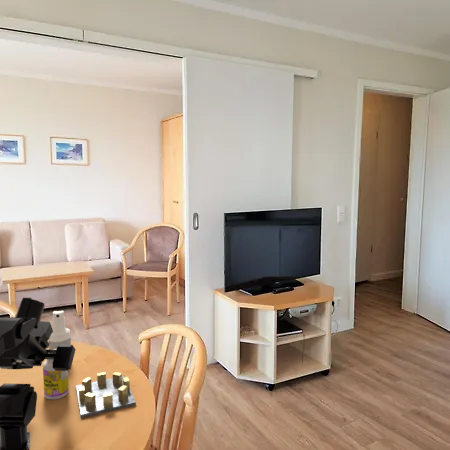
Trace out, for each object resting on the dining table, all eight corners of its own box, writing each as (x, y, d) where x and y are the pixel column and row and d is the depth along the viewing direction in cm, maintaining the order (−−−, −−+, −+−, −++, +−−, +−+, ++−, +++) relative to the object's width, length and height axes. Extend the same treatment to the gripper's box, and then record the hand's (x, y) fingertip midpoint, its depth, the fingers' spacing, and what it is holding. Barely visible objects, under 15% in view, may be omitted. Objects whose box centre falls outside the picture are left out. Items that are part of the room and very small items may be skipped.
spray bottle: (48, 369, 133) (45, 316, 131) (51, 359, 139) (48, 309, 137) (70, 366, 135) (68, 314, 132) (72, 357, 141) (70, 307, 139)
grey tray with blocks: (135, 405, 113) (135, 391, 112) (81, 418, 107) (80, 403, 106) (124, 378, 127) (124, 366, 127) (75, 388, 121) (75, 375, 121)
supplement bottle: (39, 398, 116) (36, 355, 114) (55, 386, 122) (52, 345, 121) (58, 402, 114) (56, 358, 112) (73, 390, 120) (72, 348, 119)
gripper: (71, 316, 105) (88, 339, 118) (0, 315, 106) (25, 338, 118) (58, 359, 98) (79, 379, 111) (-17, 357, 99) (12, 377, 112)
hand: (48, 366), depth 113 cm, fingers open, 9 cm apart
